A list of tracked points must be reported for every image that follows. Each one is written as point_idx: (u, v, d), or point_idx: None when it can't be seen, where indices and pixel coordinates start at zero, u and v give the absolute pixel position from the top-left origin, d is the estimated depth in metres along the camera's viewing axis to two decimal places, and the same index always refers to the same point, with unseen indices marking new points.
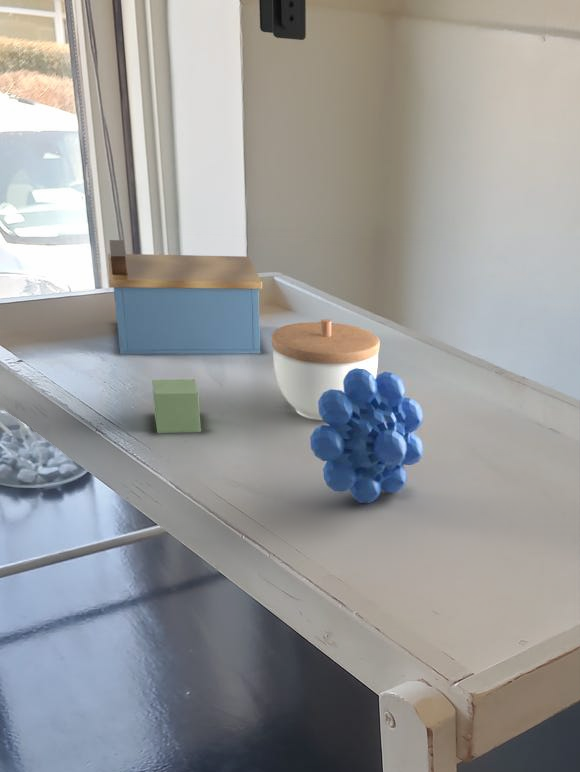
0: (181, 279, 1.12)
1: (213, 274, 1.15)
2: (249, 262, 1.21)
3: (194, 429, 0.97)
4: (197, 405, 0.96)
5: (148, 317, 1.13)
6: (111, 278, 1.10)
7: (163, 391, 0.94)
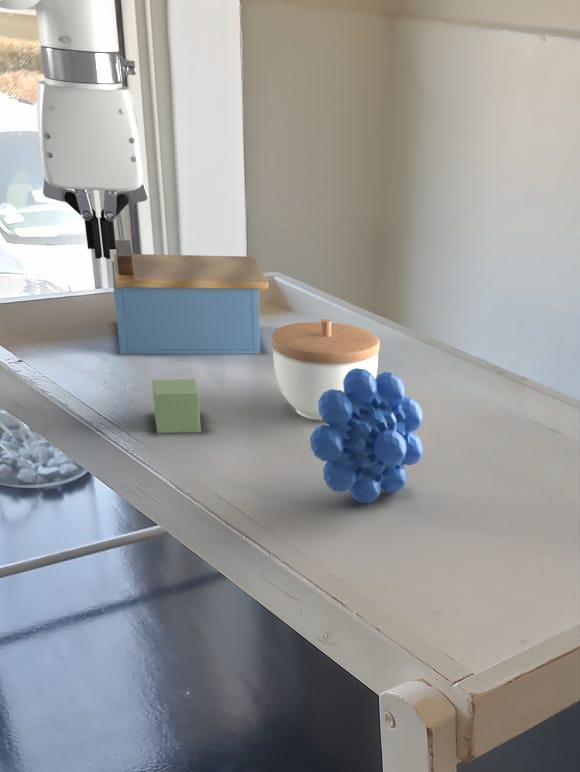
0: (187, 279, 1.12)
1: (219, 274, 1.15)
2: (255, 262, 1.22)
3: (194, 429, 0.97)
4: (197, 405, 0.96)
5: (148, 317, 1.13)
6: (118, 278, 1.10)
7: (163, 391, 0.94)
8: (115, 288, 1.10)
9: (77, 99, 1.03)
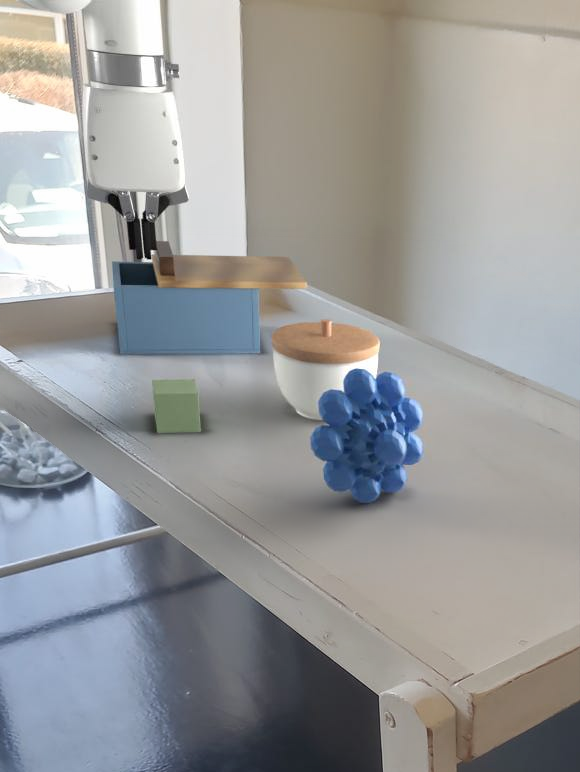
0: (228, 279, 1.14)
1: (258, 274, 1.17)
2: (290, 262, 1.23)
3: (194, 429, 0.97)
4: (197, 405, 0.96)
5: (148, 317, 1.13)
6: (160, 279, 1.11)
7: (163, 391, 0.94)
8: (115, 288, 1.10)
9: (123, 102, 1.04)
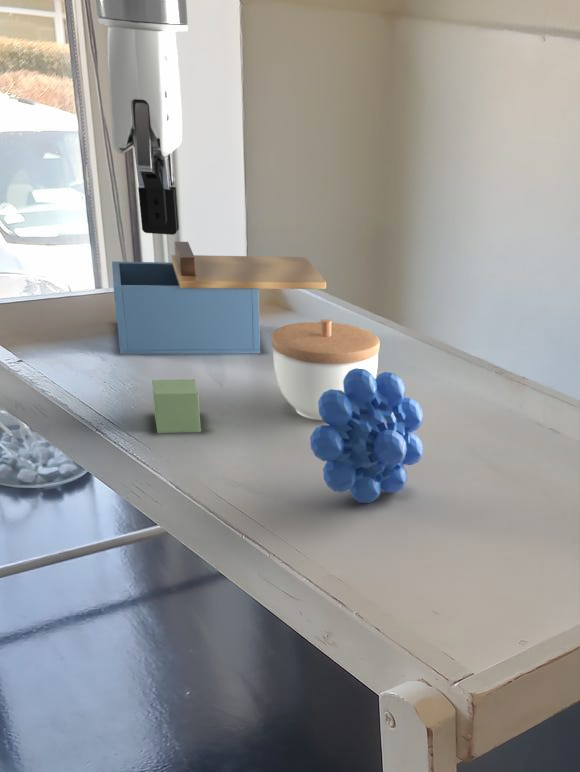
0: (248, 280, 1.14)
1: (277, 275, 1.17)
2: (308, 263, 1.24)
3: (194, 429, 0.97)
4: (197, 405, 0.96)
5: (148, 317, 1.13)
6: (181, 279, 1.12)
7: (163, 391, 0.94)
8: (115, 288, 1.10)
9: (173, 45, 0.88)
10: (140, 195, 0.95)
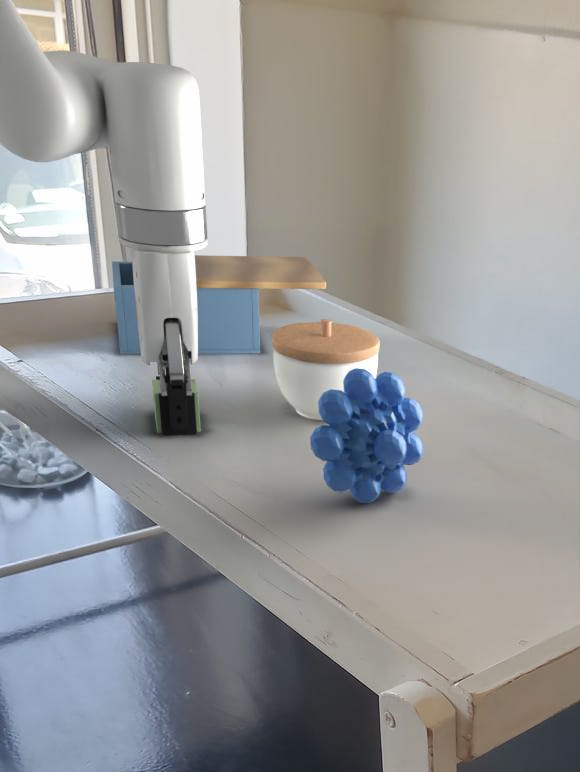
0: (248, 280, 1.14)
1: (277, 275, 1.17)
2: (308, 263, 1.24)
3: None
4: (197, 405, 0.96)
5: None
6: None
7: None
8: (115, 288, 1.10)
9: None
10: (160, 402, 0.94)
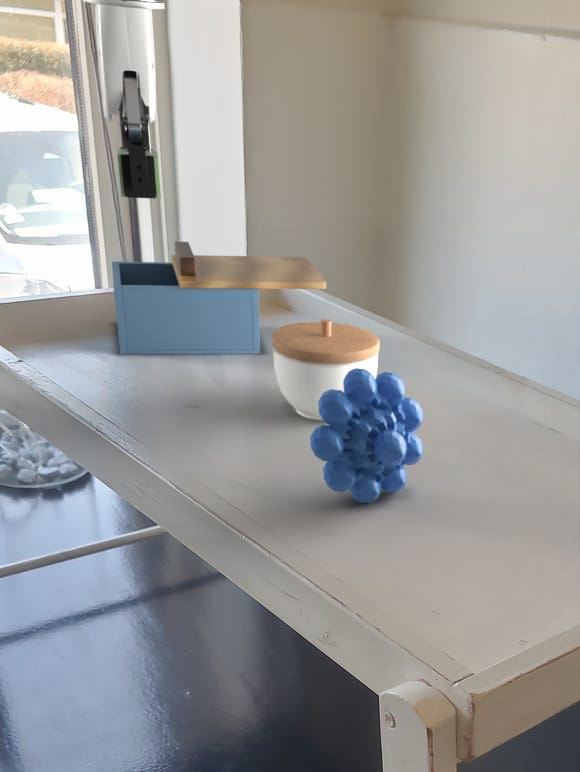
0: (248, 280, 1.14)
1: (277, 275, 1.17)
2: (308, 263, 1.24)
3: None
4: (157, 169, 1.04)
5: (148, 317, 1.13)
6: (181, 279, 1.12)
7: None
8: (115, 288, 1.10)
9: (152, 21, 0.98)
10: (122, 162, 1.02)
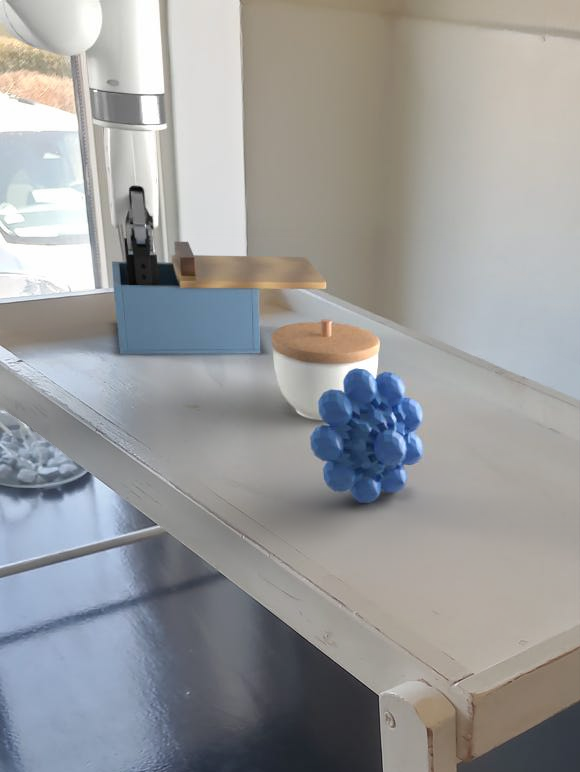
0: (248, 280, 1.14)
1: (277, 275, 1.17)
2: (308, 263, 1.24)
3: None
4: None
5: (148, 317, 1.13)
6: (181, 279, 1.12)
7: None
8: (115, 288, 1.10)
9: None
10: (128, 261, 1.11)
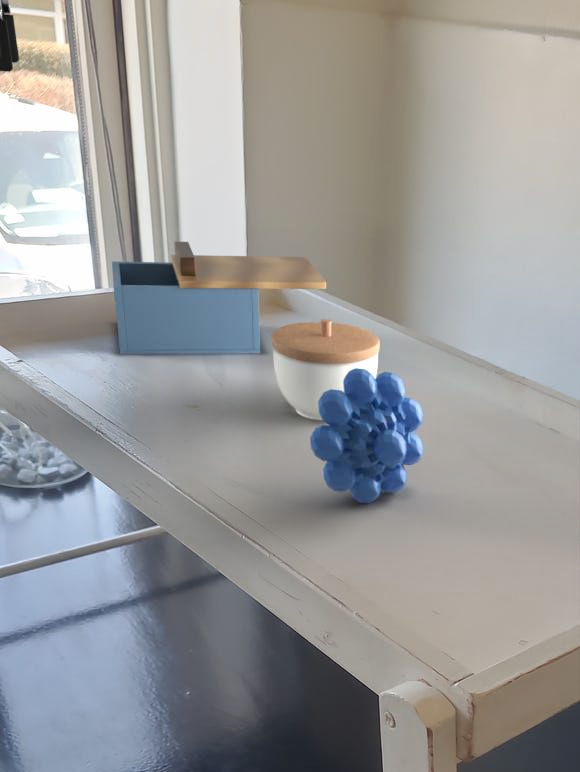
0: (248, 280, 1.14)
1: (277, 275, 1.17)
2: (308, 263, 1.24)
3: None
4: None
5: (148, 317, 1.13)
6: (181, 279, 1.12)
7: None
8: (115, 288, 1.10)
9: None
10: None
